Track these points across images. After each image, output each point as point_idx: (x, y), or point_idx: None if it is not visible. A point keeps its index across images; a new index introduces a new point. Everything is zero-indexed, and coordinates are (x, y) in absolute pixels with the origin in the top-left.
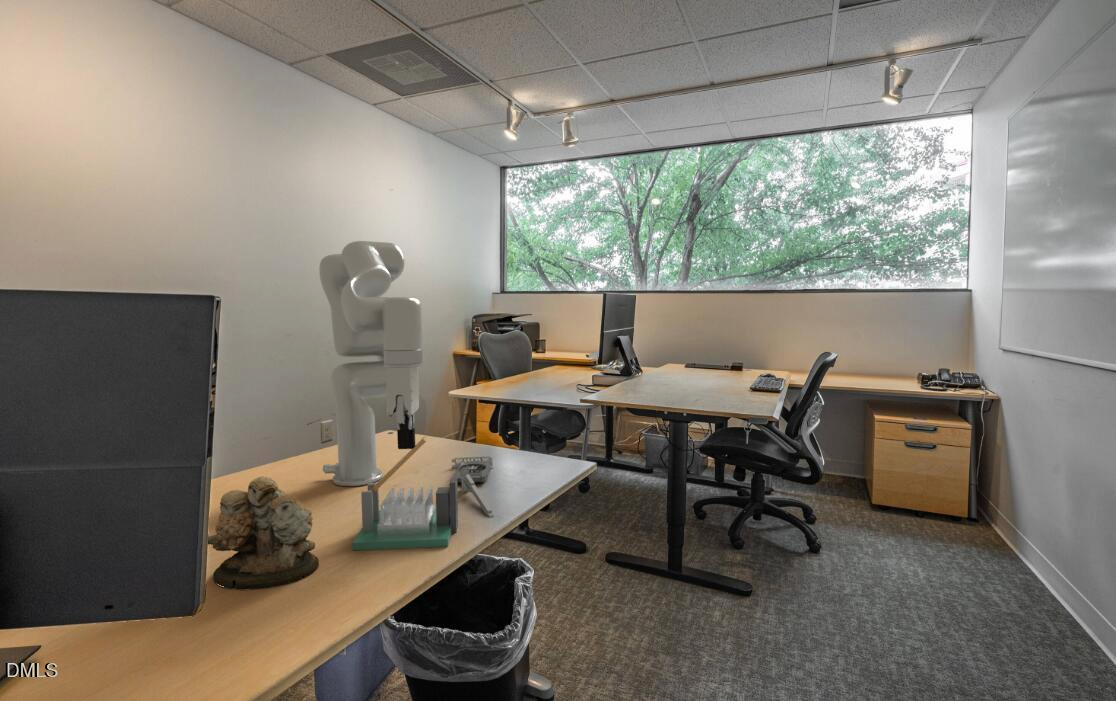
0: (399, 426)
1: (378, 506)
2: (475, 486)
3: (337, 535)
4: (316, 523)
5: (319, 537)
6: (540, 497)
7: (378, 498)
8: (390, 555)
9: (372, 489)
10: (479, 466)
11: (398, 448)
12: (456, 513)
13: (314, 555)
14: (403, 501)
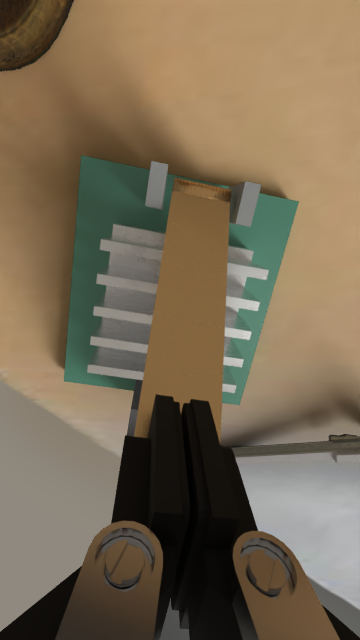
0: (28, 611)
1: None
2: (322, 459)
3: (196, 102)
4: (312, 13)
5: (197, 43)
6: None
7: (231, 223)
8: (44, 255)
9: (169, 208)
10: None
11: (156, 395)
12: None
13: (34, 45)
14: (122, 312)
